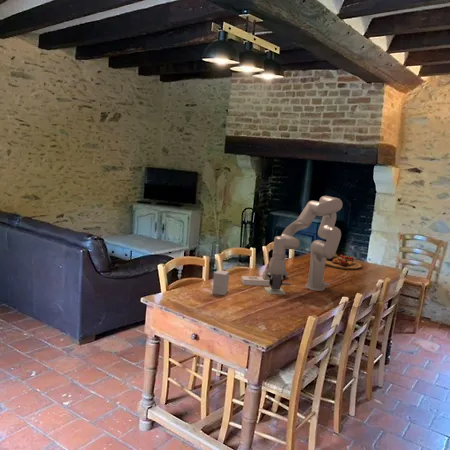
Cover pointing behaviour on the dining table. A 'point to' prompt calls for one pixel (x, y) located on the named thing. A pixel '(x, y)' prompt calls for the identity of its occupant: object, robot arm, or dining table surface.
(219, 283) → the supplement box
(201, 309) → the dining table surface
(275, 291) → the felt pad
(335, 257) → the wooden plate with food
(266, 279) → the small plug
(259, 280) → the power strip
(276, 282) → the block
